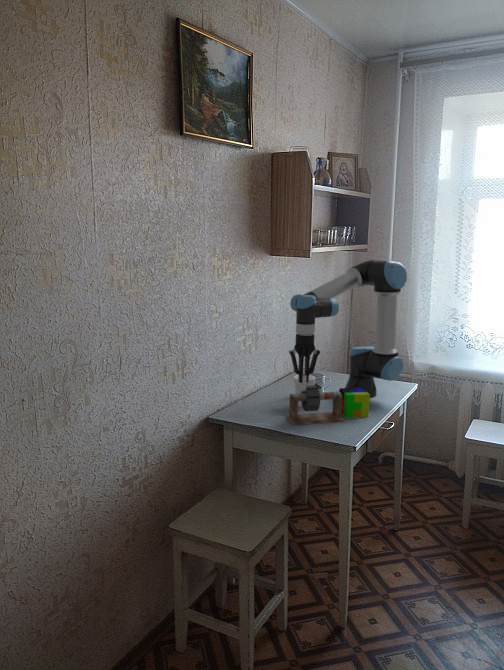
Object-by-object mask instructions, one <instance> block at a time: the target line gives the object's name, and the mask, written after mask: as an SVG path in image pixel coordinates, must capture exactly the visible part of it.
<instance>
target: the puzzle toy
mask: <svg viewBox="0 0 504 670" xmlns="http://www.w3.org/2000/svg"><path fill="white" fill-rule="evenodd" d="M338 390H339V391H338V392H341V395H342V411H341V415H342V416H343V417H345V418H348V419H349V418H367V417H369V415H370V414H369V413H370V399H371V397H370V394H369V393H368V392H366V391H365V390H364V389H362V388H345V387H340V388H339V389H338Z"/></svg>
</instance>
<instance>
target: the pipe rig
mask: <svg viewBox="0 0 504 670" xmlns="http://www.w3.org/2000/svg"><path fill="white" fill-rule="evenodd" d="M319 393H320V397H319V398H320V401H324V400H325V401H327V400H328V401H329V400H332V411H328V412H310V413H308V412H307V413H298V408H299V406H298V401H306V394H305V393H303V394H295V393H290V394H289V410H288V411H289V413H288V414H286V419H287V420H288V421H289V423H291V424H292V425H293V426H295V425H296V426H297V425H310V424H311V425H313V424H328V423H344V422H345V418H343V416H342V413H341V411H342V395H341V392H339V391H330V392H319Z"/></svg>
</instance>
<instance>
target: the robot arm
mask: <svg viewBox="0 0 504 670" xmlns="http://www.w3.org/2000/svg"><path fill="white" fill-rule="evenodd" d="M407 274H408V273H407V269H406V267H405V266H403V264H402V263H401V262H398V261H394V260H378V259H369V260H365V261H362V262H361V263H358V264H356V265H354V266H352V267H350V268H348V269H347V270H346V272H345V273H343V274H341V275H339V276H338V277H337V276H336V277H335V278H333V279H331V280H330V281H327V282H325V283H323V284H322V285H320V286H317V287H316V288H314V289H312V290H310V291H307V292H306V293H305V294H300V293H299V294H295V295H293V296H292V298H291V300H290V308H291V310H292V311H294V312H296V313H295V314H296V318H295V320H296V321H295V333H296V334H295V345H294V347H293V349H292V350H288V354H289V356H290V358H291V362H292V367H293V372H294V373H295V374H296V375H299V382H300V383H301V390H302V391H306V383H308V381H309V375H311V374H314V371H315V368H316V365H317V362H318V361H317V360H318V357H319V355H320V353H321V350H319V349H317V348H316V346H315V333H316V331H315V330H316V329H315V328H316V319H319V318H330V317H334V316H336V315H338V313H339V310H340V309H339V308H340V305H339V302H338V300H336V298H337V297H338V296H341V295H342V294H345V293H346V292H348V291H350V290H352V289H358V288H360V287H363V286H364V287H365V286H372V287H373V292H374V293H375V294H376V296H377V297H376V324H375V325H376V329H375V330H376V331H375V346H373V345H371V346H370V345H369V346H368V345H364V346H355V347H352V348H351V349H350V355H349V376H348V379H347V382H346V385H345V387H344V388H362V389H364V390H365V391H366V392H368V393H369V394H370V398H374V397H375V396H377V392H378V391H377V386H376V383H375V379H374V377H375V378H376V379H377V378H378V379H381V380H383V381H388V382H389V381H390V382H393V381H395V380H397V378H399V376H401V374H402V372H403V369H404V360H403V359H402V358H401V357H400V356H399V349H398V348H397V347H396V331H397V306H398V305H397V302H398V295H399V294H400V293H401V291H402V288H404V287H405V285H406V283H407V280H408V275H407ZM296 353H297V355H298V362H297V358H296ZM311 355H312V357H311Z"/></svg>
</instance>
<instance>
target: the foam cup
mask: <svg viewBox="0 0 504 670" xmlns="http://www.w3.org/2000/svg"><path fill="white" fill-rule="evenodd" d="M293 384H294V394H301V392H302V390H301V383H300V382H299V374H296V375H294V377H293ZM315 385H316V376H314V375H311V374H310V375H309V381H308V383H306V386H315ZM298 408H303V407H302V403H301V401H298Z"/></svg>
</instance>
